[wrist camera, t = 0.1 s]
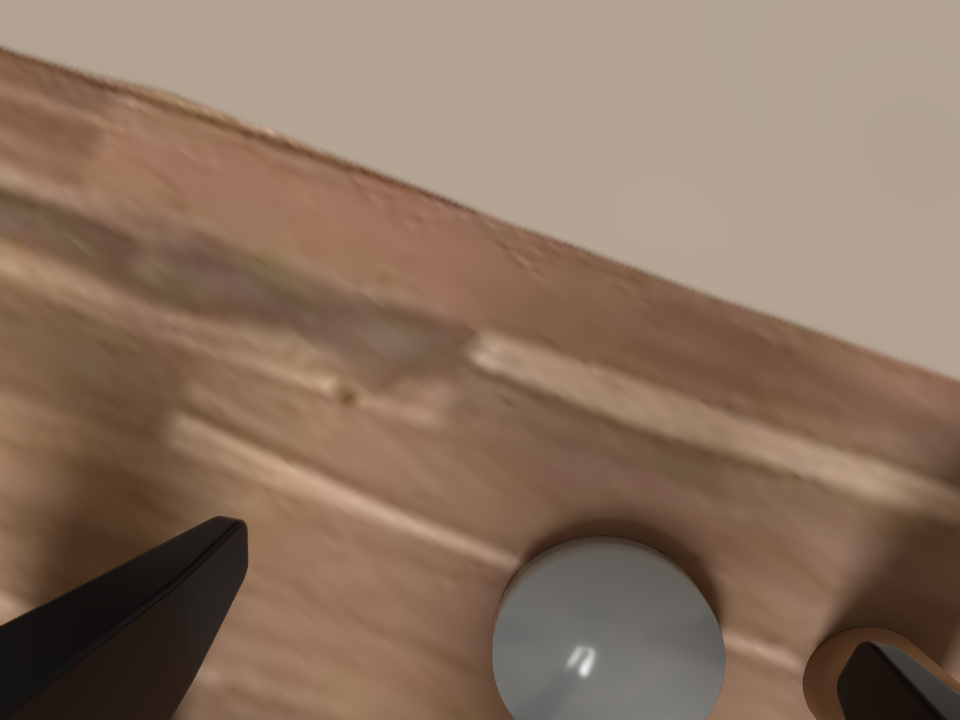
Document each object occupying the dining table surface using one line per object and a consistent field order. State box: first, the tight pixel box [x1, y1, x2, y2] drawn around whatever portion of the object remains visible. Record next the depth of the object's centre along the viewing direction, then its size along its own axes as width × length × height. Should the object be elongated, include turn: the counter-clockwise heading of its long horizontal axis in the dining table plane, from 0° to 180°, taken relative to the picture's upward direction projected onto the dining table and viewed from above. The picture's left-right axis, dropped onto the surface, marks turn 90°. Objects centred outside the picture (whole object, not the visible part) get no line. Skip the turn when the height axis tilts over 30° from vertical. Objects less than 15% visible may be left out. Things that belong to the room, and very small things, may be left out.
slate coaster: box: [492, 536, 725, 720], centre depth 23 cm, size 10×10×2 cm
